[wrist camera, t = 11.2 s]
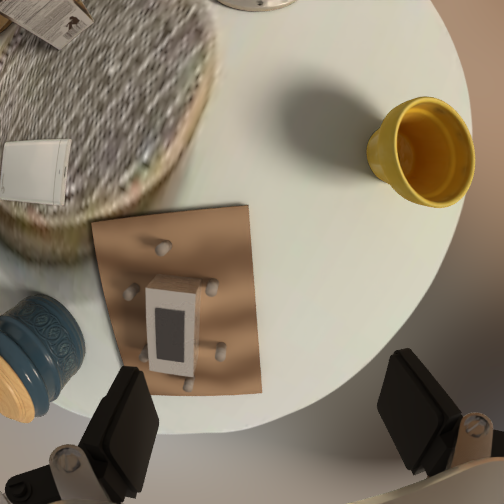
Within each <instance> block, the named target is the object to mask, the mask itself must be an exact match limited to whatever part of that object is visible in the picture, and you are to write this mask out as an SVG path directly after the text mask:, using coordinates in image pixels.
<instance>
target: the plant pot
mask: <svg viewBox="0 0 504 504" xmlns="http://www.w3.org/2000/svg"><path fill="white" fill-rule="evenodd" d="M367 160H368V163H369V166H370V168H371V170H372V171H373V173H374V174H375V175H376V176H377V177H378V178H379V179H381V180H382V181H384V182H386V183H388V184H390V185H391V186H392V188H393V189H394V190H395V191H396V192H397V193H398V194H399V195H401V196H402V197H403V198H405V199H407V200H409V201H411V202H413V203H416V204H420V205H424V206H428V207H434V208H444V207H448V206H451V205H453V204H455V203H456V202H458V201H459V200H460V199H461V198H462V197H463V196H464V195H465V193H466V192H467V191H468V189H469V187H470V184H471V182H472V179H473V175H474V170H475V151H474V145H473V141H472V138H471V135H470V132H469V130H468V128H467V126H466V124H465V122H464V121H463V119H462V118H461V116H460V115H459V114H458V113H457V112H456V111H455V110H454V109H453V108H452V107H451V106H450V105H448V104H447V103H445V102H444V101H442V100H439V99H437V98H433V97H418V98H415V99H412V100H409V101H406V102H404V103H402V104H400V105H398V106H396V107H395V108H393V109H392V110H391V111H390V112H389V113H388V114H387V116H386V117H385V119H384V120H383V122H382V124H381V127H380V128H379V129H378V130H377V131H376V132H375V133H374V134H373V135H372V136H371V138H370V140H369V142H368V145H367Z"/></svg>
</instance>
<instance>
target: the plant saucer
mask: <svg viewBox="0 0 504 504" xmlns="http://www.w3.org/2000/svg"><path fill="white" fill-rule="evenodd" d="M11 23H12V21H11V20H9V19H7V18H5V17H3V16H2V15H0V33H1V32H2V31H4V30H5V29H6V28H7V27H8V26H9V25H10V24H11Z"/></svg>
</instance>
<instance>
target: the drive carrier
mask: <svg viewBox="0 0 504 504" xmlns="http://www.w3.org/2000/svg"><path fill="white" fill-rule="evenodd" d="M201 285H202V279H199V278H189V277H180V276H172V275H163V274H157V275H156V276H155V278H154V279H153V280H152V281H151V282H150V283H149V284H148V286H147V287H146V324H147V343H148V358H149V370H150V371H155V372H161V373H167V374H174V375H180V376H188V377H194V372H195V368H196V364H197V359H198V353H199V324H200V303H201Z"/></svg>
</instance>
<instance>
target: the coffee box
mask: <svg viewBox="0 0 504 504" xmlns="http://www.w3.org/2000/svg"><path fill="white" fill-rule="evenodd" d="M0 15H2V16H3V17H5V18H7V19H9V20H11V21H12V22H14V23H16V24H18V25H19V26H21V27H23V28H24V29H26V30H28V31H29V32H31V33H33V34H34V35H36V36H38V37H39V38H41V39H42V40H44V41H46V42H47V43H49V44H50V45H52V46H54V47H55V48H57V49H58V50H61V49H62V48H63V47H64V46H65V45H67V44H68V43H69V42H70V41H71V40H73V39H74V38H75V37H76V36H77V35H79V34H80V33H81V32H82V31H84V30H85V29H86V28H88V27H89V26H90V25H91V24H93V23H94V20H93V18H92V16H91V15H90V13H89V12H88V10H87V8H86V7H85V5H84V4H83V2H82V0H0Z"/></svg>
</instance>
